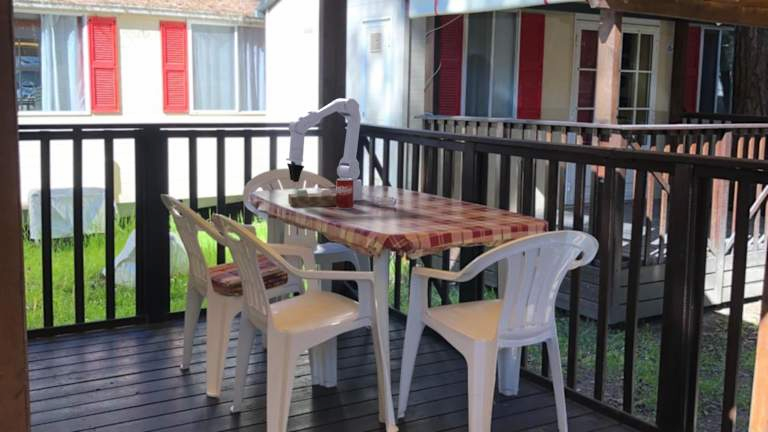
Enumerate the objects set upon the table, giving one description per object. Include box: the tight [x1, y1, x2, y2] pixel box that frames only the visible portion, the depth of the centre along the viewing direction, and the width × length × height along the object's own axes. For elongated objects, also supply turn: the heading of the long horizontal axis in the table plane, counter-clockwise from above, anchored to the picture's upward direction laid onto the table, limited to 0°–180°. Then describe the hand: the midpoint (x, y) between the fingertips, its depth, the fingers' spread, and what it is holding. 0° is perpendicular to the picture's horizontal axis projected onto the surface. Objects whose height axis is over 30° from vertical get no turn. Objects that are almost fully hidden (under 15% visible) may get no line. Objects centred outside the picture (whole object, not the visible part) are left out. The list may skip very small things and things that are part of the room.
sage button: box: [295, 189, 309, 196], centre depth 347 cm, size 4×4×4 cm
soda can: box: [335, 177, 355, 210], centre depth 338 cm, size 7×7×12 cm
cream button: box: [318, 188, 332, 196], centre depth 350 cm, size 4×4×4 cm
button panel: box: [287, 192, 336, 208], centre depth 349 cm, size 20×10×4 cm, turn 104°
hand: (294, 181), depth 345 cm, fingers open, 7 cm apart
